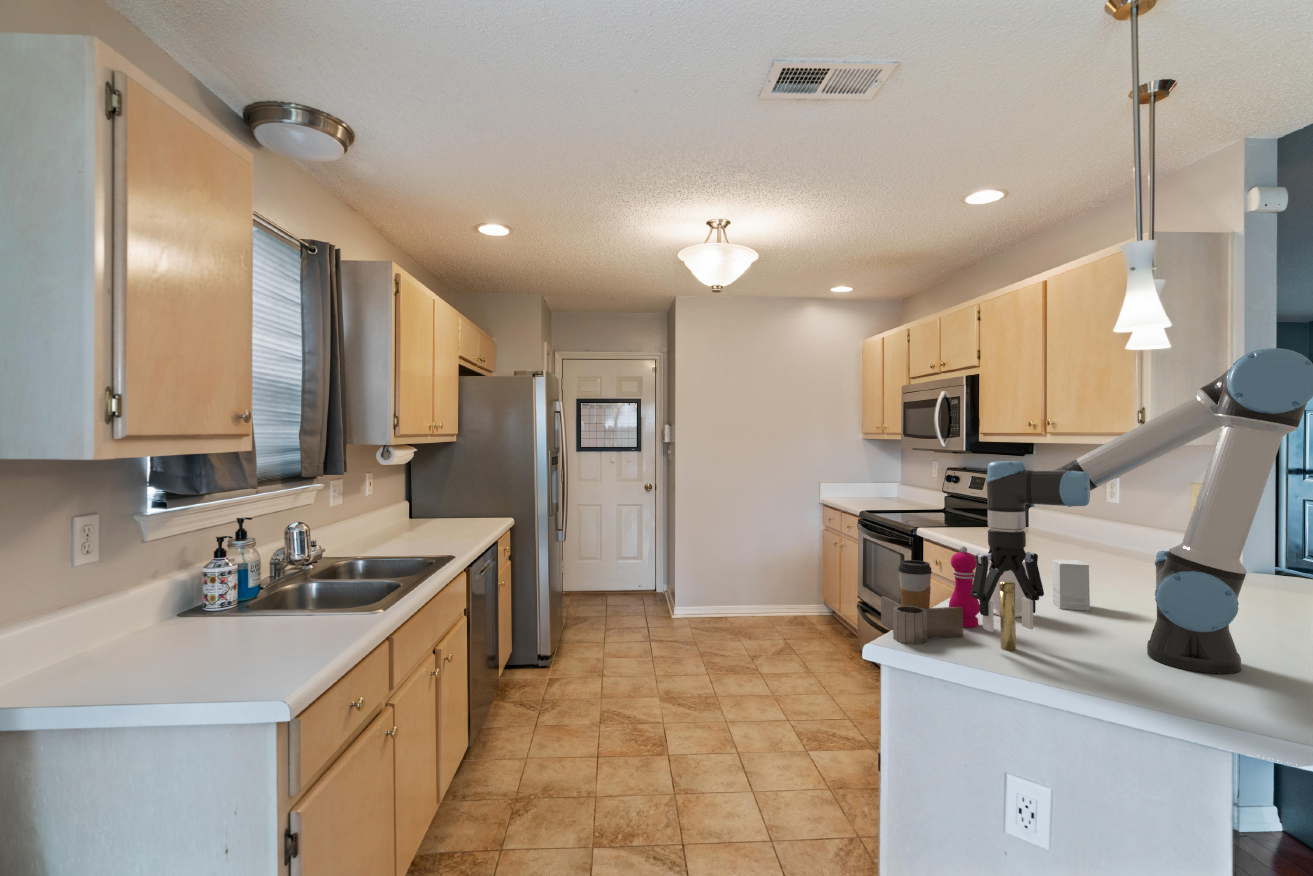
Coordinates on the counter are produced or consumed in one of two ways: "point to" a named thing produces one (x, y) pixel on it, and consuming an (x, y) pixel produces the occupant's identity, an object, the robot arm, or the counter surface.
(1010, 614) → the gold metal bar
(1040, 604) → the counter surface
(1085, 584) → the supplement box
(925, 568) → the coffee cup
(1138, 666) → the counter surface
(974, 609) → the pepper mill
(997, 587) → the jar
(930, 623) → the hinge
